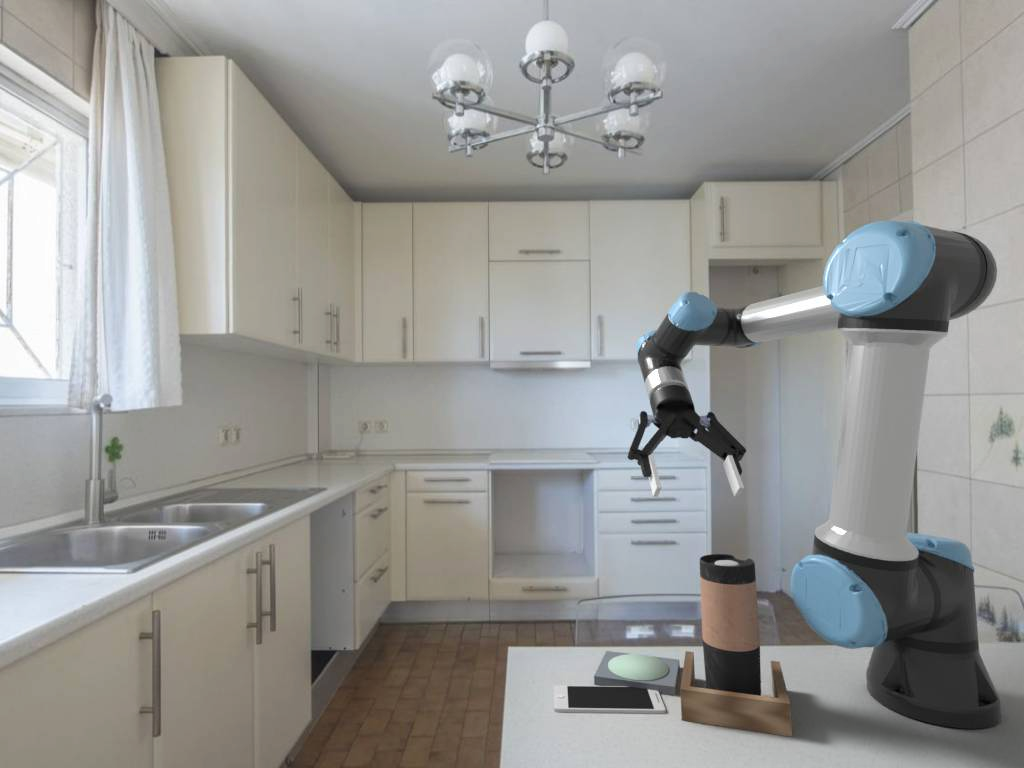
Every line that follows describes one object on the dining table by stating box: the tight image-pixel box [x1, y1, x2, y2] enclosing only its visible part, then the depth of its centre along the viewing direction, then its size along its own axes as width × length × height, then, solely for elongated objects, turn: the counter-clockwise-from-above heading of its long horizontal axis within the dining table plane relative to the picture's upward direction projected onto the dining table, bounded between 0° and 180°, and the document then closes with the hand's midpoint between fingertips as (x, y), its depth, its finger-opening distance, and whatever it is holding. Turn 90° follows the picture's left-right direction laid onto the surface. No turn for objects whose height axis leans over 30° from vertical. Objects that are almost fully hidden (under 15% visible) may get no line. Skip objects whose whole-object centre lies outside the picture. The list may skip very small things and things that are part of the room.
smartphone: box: [553, 684, 667, 715], centre depth 81 cm, size 7×15×1 cm, turn 86°
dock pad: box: [593, 650, 681, 696], centre depth 89 cm, size 12×10×1 cm
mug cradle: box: [679, 650, 793, 738], centre depth 79 cm, size 13×13×4 cm
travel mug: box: [699, 553, 762, 696], centre depth 80 cm, size 8×8×20 cm
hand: (698, 492), depth 91 cm, fingers open, 13 cm apart
